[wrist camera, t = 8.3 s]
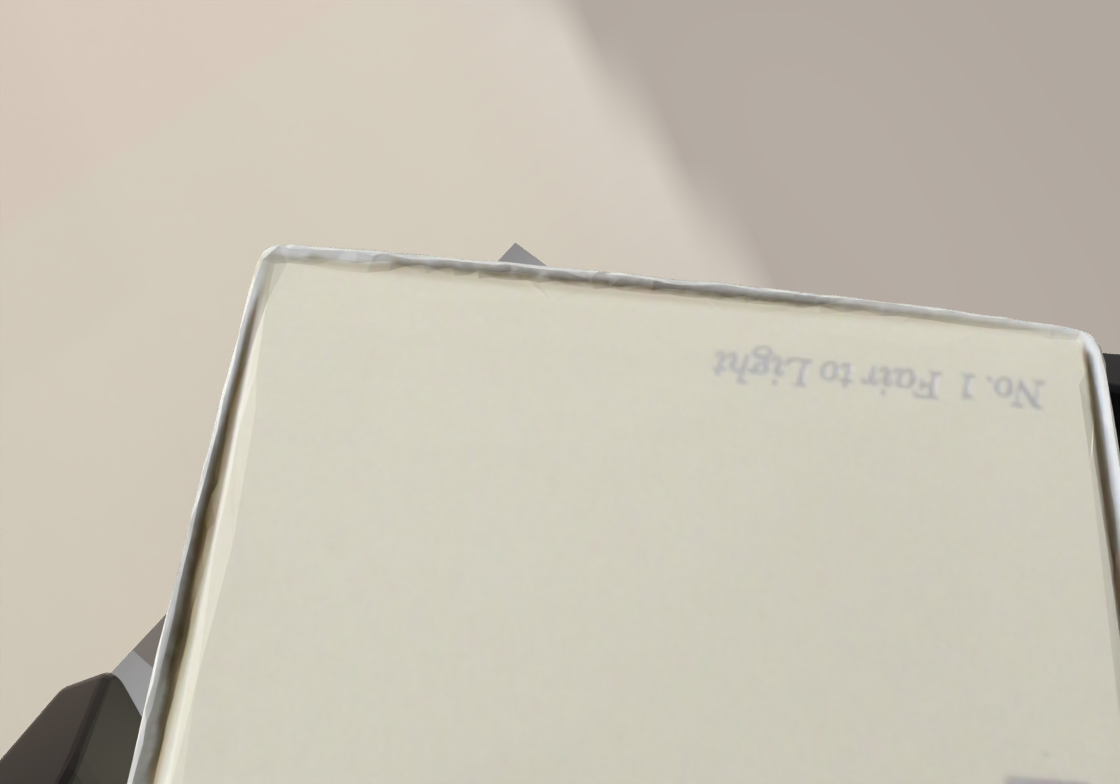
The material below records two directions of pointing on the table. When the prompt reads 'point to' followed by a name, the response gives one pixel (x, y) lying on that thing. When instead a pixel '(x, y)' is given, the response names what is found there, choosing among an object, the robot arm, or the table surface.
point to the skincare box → (639, 538)
